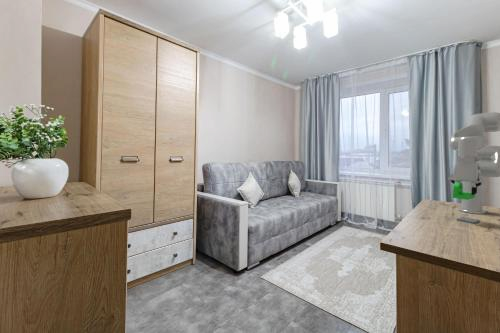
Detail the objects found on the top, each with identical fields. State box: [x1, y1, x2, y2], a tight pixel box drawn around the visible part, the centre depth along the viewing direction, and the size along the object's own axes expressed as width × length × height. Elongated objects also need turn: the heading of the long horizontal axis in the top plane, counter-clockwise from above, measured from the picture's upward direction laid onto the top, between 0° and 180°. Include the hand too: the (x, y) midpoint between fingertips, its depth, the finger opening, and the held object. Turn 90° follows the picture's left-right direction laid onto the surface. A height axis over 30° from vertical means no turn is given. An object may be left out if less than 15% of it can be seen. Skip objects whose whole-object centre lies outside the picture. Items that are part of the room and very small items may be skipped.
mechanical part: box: [452, 182, 475, 200], centre depth 123 cm, size 12×6×8 cm, turn 118°
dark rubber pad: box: [456, 216, 481, 225], centre depth 123 cm, size 8×7×1 cm
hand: (465, 193), depth 123 cm, fingers closed on mechanical part, 6 cm apart
